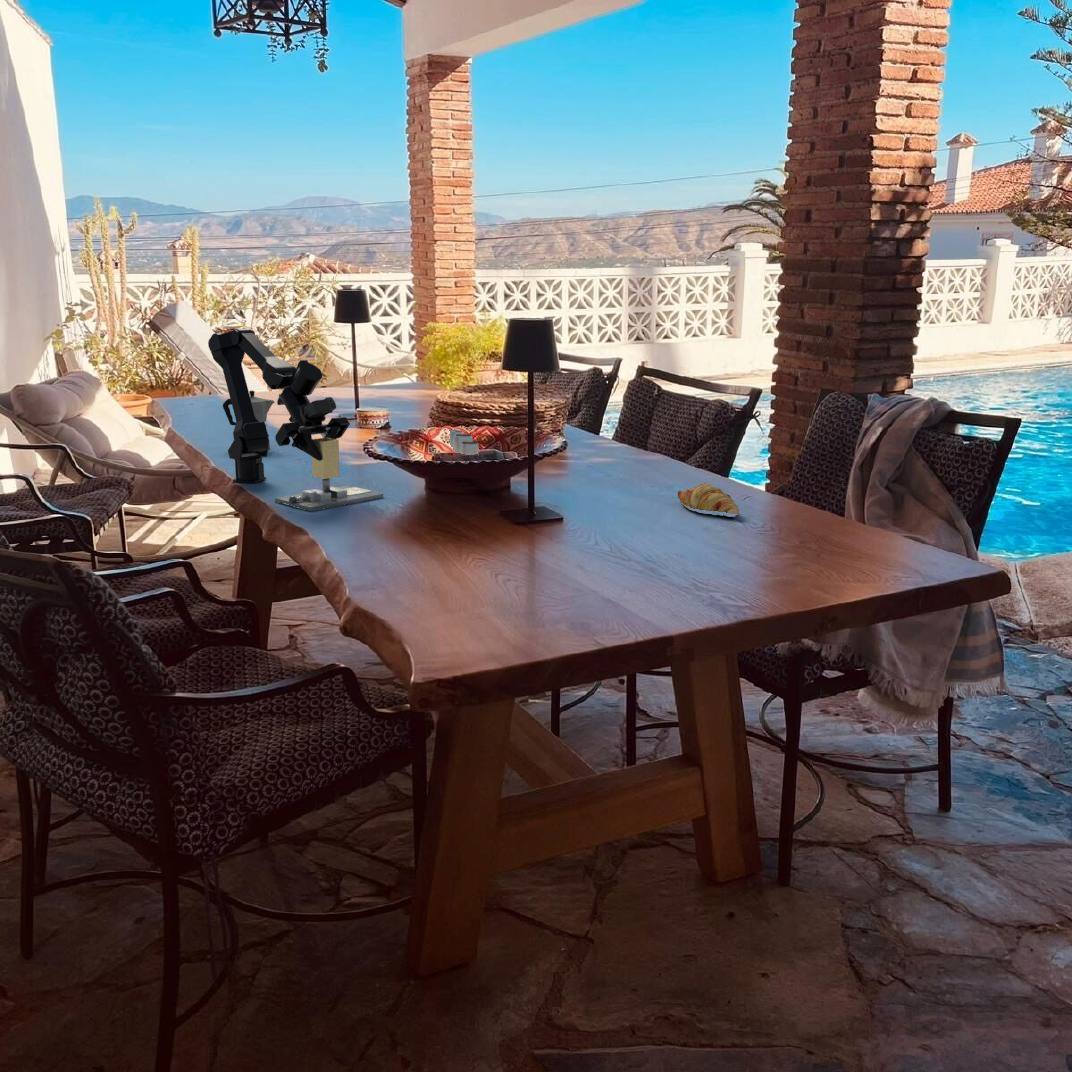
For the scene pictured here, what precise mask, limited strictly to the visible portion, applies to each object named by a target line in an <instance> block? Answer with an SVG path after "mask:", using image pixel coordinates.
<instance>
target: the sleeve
mask: <svg viewBox="0 0 1072 1072" xmlns="http://www.w3.org/2000/svg"><path fill="white" fill-rule="evenodd" d="M312 440H313V442H314V443H315V445H316V447H317V449H318V451H319V452H320V455H321V457H322V459H321V461H318V460H317V459H315V458H313V457H312V456H311V472H312V477H314V478H318V479H321V480H322V479H328V478H330V479H332V478H334V479H335V478H340V448H339V447H340V445H339V444H340V442H339V439H332V438H327V437H326V438H323V437H319V438H312Z"/></svg>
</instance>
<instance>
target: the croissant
mask: <svg viewBox="0 0 1072 1072" xmlns="http://www.w3.org/2000/svg"><path fill="white" fill-rule="evenodd" d="M677 498H678V499H679V502H680V504H681V503H683V504H684V505H686V506H689V507H690V508H693V509H699V510H706V511H718V512H726V513H731V514H739V515H740V509H739V507H738V504H736V503H735V501H734V499H733V498H732V497H731V495H730V494H728V493H724V491H722V489H721V488H720V487H718V486H715V485H713V484H709V483H706V482H704V483H700V484H698V485H697V486H694V487H692V488H690V489H684V490H678V491H677Z"/></svg>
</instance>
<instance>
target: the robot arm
mask: <svg viewBox="0 0 1072 1072" xmlns="http://www.w3.org/2000/svg"><path fill="white" fill-rule="evenodd" d="M207 344H208V348H209V351H210V354H211V356H212V359H213V360H214V362H215V363H216V364H217V365H218V366H219V367H220V368H221V369H222V373H223V376H224V379H225V383H226V387H227V391H228V395H229V399H231V403H232V405H231V407H232V409H233V414H234V418H235V421H236V425H234V429H233V431H232V435H233V436H232V437H233V441H232V443H231V444H230V446H229V448H228V450H227V453H228V456H229V459H232V460H234V467H235V478H233V479H232V482H236V483H248V484H256V483H259V482H262V481H264V480H267V477H265V465H264V462H263V457H264V458H266V457H268V453H269V452H268V451H269V449H268V447H269V444H270V435H269V433H268V430H267V425H266V422H265V423H264V422H259V421H258V420H257V419H256V417H255V414H254V410H253V406H252V402H251V399H250V393H249V391H250V390H249V387H248V384H247V381H246V376H245V373H244V372H245V371H244V369H243V365H242V364H243V361H244V357H245V355H247V356H248V358H249V359H251V361H252V362H253V363H254V364H255V365H257V367H258V368H259V369H260V370H261V372H262V379H263V381H264V382H265V384H266V385H267V387H268V388H269V389H270V390H273V391H274V390H282V392H281V393H279V394H278V398H277V403H276V404H277V406H283V405H284V408H286V410H287V412H288V414H289V415H290V417H289V418H288V421H289V422H285V423H282V425H281V426H280V428H279V429H278V431H276V432H277V433H276V434H275V436H274V437H275V442H276V443H277V446H279V447H284V446H289V445H290V444H291V447H293V448H297V449H298V450H301V452H304V453H306V454H307V455H309V456H310V457H311V458H312V457H313V458H315V459H317V460H318V461H321V459H322V457H321V455H320V452H319V451H318V449H317V447H316V445H315V443H314V442H313V440H312V439H313V437H312V436H315V435H321V438H326V437H327V438H332V439H337V440H339V439H341V438H342V437H343V436H344V434H345V433H346V431H347V429H348V428H349V427H350V425H351V423H350V421H349V420H348V418H347V417H346V416H337V417H331V419H330V420H329V422H328V423H327V424H326V423H323V422H325V421H326V419H327V417H326V416H327V415H329V414H332V413H333V411H335V410H336V409H337V405H336V401H335V400H334V398H333V397H332V396H329V397H325V398H323V399H317V400H313V401H310V400H309V398H308V396H311V395H312V394H313V392H314V391H315V389H316V388H317V386H318V385H319V383H320V381H321V380H322V379H323V372H322V370H321V369H320V368H318V367H317V366H316V365H314V364H312V363H310V362H309V361H308V360H307V359H302V360H299V361H298V362H297V366H296V367H295V366H294V365H293V364H292V363H291V362H289V361H287V360H284V359H281V358H279V357H277V356H276V354H274V353H273V352H272V351H271V350H270V349H269V348H268V347H267V346H266V345H265V343H263V341H261V339H259V337H257V335H256V332H255V331H254V329H251V328H235V329H232V330H230V331H227V332H215V333H213V334H211V336H210V337H209V339H208V343H207ZM291 439H292V443H291Z"/></svg>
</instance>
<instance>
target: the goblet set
mask: <svg viewBox="0 0 1072 1072" xmlns="http://www.w3.org/2000/svg"><path fill="white" fill-rule="evenodd" d="M445 430H446V429H445ZM449 431H450V439H449V441H450V445H451V447H453V448H454V451H455V453H461V454H465V455H475V454H478V453H479V451H480V449H479V448H480V446H479V443H478V442H477V441H474V440H473V435H472V434H469V433H463V430H459V429H456V428H454V430H449ZM479 454H480V453H479ZM479 454H478V455H479Z"/></svg>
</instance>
